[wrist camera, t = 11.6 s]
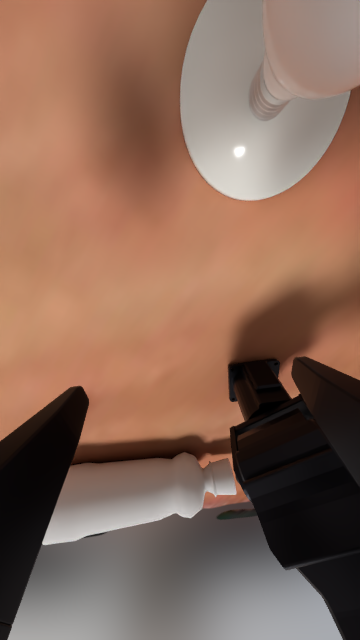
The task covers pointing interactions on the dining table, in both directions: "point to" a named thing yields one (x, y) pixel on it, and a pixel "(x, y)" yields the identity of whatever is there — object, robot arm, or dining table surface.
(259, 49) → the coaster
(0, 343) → the dining table surface
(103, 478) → the bottle
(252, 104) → the lightbulb
